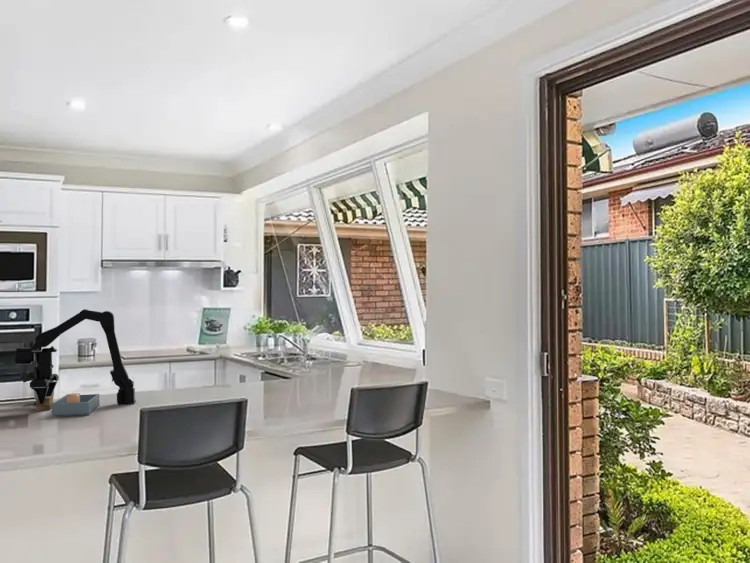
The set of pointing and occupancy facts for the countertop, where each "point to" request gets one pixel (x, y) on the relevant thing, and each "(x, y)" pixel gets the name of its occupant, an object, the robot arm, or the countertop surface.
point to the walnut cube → (44, 404)
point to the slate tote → (76, 406)
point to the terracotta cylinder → (73, 398)
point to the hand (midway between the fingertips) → (45, 401)
